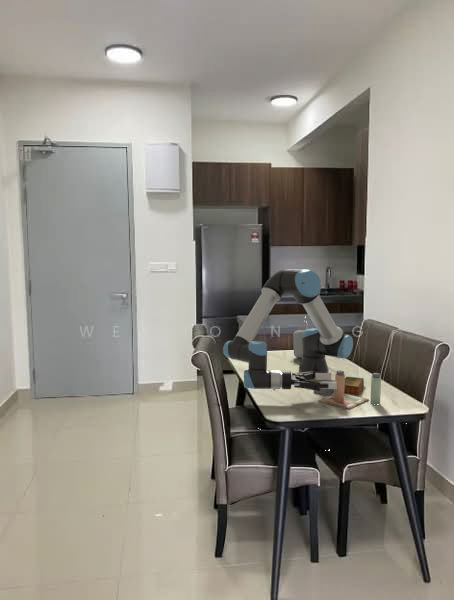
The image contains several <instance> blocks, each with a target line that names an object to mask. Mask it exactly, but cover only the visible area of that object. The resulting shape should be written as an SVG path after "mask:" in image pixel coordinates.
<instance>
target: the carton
mask: <svg viewBox="0 0 454 600" xmlns="http://www.w3.org/2000/svg"><path fill="white" fill-rule="evenodd" d="M364 381H365V379H364V378H363V377H356V376H345V385H344V393H345V394H349V395H354V396H359V395H360V394H361V392H362V391H363V389H364V387H363V386H365V384H364V383H365V382H364Z"/></svg>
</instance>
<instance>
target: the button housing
mask: <svg viewBox="0 0 454 600" xmlns="http://www.w3.org/2000/svg"><path fill="white" fill-rule="evenodd" d="M313 393H315V394H320V395H324V396H326V395H329V394H331V393H334V389H320V391H317V390H313Z"/></svg>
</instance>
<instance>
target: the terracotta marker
mask: <svg viewBox="0 0 454 600" xmlns="http://www.w3.org/2000/svg"><path fill="white" fill-rule="evenodd" d="M334 376H335V377H334V378H335V379H334V382H337V389H334V393H333V394H334V401H335V402H339V403H341V402H344V385H345V378H346V375H345V371H344V370H342V369H341V370H339V369H338V370H336V373H335V375H334Z"/></svg>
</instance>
